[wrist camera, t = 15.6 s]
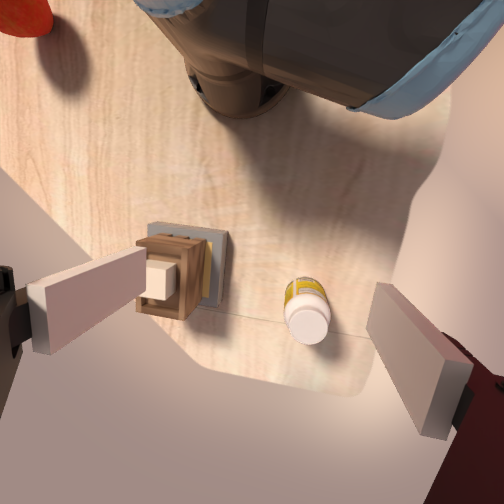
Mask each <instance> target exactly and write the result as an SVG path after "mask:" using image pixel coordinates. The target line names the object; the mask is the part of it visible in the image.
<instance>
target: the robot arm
mask: <svg viewBox="0 0 504 504" xmlns="http://www.w3.org/2000/svg"><path fill="white" fill-rule="evenodd" d="M133 1H134V2H135V4H136V5H137V6H139V7H140V9H141V10H143V11H145V13H146V14H147V15H148V16H149V17H150V18H151V19H152V21H153V22H154V23H155V24H156V25H157V26H158V28H159V29H160V30H161V31H162V32H163V33H164V35H165V36H166V37H167V38H168V39H169V40H170V42H171V43H172V44H173V45H174V46H175V47H176V49H177V50H178V51H179V52H180V53H181V54H182V56H183V57H184V62H185V67H186V71H187V74H188V77H189V79H190V82H191V84H192V86H193V87H194V89H195V91H196V92H197V94H198V95H199V96H200V97H201V98H202V100H203V101H204V102H206V103H207V104H208V105H209V106H210V107H211V108H212V109H213V110H215V111H216V112H218V113H220V114H222V115H224V116H227V117H231V118H239V119H243V118H251V117H255V116H258V115H260V114H262V113H264V112H266V111H268V110H269V109H271V108H272V107H273V106H275V105H276V104H277V103H278V102H279V101H280V100H281V99H282V97H283V96H284V95H285V93H286V92H287V90H288V89H289V87H290V86H292V87H294V88H297V89H300V90H302V91H305V92H308V93H311V94H313V95H316V96H319V97H321V98H324V99H327V100H329V101H332V102H335V103H338V104H340V105H343V106H346V109H347V110H349V111H351V112H360V111H361V112H364V113H367V114H370V115H373V116H377V117H380V118H383V119H389V120H395V119H399V118H402V117H405V116H409V115H411V114H413V113H415V112H417V111H419V110H420V109H422V108H423V107H425V106H426V105H427V104H429V103H430V102H431V101H433V100H434V99H435V98H436V97H437V96H438V95H440V94H441V93H442V92H443V91H444V90H445V89H446V88H447V87H448V86H449V85H451V84H452V83H453V82H454V80H456V78H458V77H459V75H460V74H461V73H462V72H463V71H464V70H465V69H466V68H467V67H468V66H469V65H470V64H471V63H472V62H473V61H474V59H475V58H476V57H477V56H478V55H479V54H480V53H481V51H482V50H483V49H484V48H485V47H486V46H487V44H488V43H489V42H490V41H491V39H492V38H493V37H494V36H495V35H496V33H497V32H498V30H499V29H500V28H501V27H502V26H503V24H504V0H133ZM146 249H147V248H146V247H139V246H133V247H130V248H127V249H124V250H121V251H118V252H116V253H113V254H110V255H107V256H104V257H101V258H98V259H96V260H93V261H90V262H87V263H84V264H81V265H79V266H76V267H73V268H70V269H67V270H65V271H62V272H59V273H56V274H53V275H50V276H47V277H45V278H42V279H39V280H36V281H33V282H30V283H28V284H26V287H24V288H21V289H19V290H16V291H15V285H14V277H13V269H12V268H11V267H9V266H0V418H1V415H2V412H3V409H4V406H5V403H6V401H7V398H8V394H9V392H10V388H11V386H12V383H13V379H14V377H15V374H16V371H17V368H18V365H19V362H20V359H21V356H22V353H23V350H22V342H24V341H26V340H28V339H30V338H32V347H33V352H37V353H42V354H47V355H52V354H54V353H55V352H57V351H58V350H60V349H61V348H63V347H64V346H65V345H67V344H68V343H70V342H71V341H73V340H74V339H76V338H77V337H79V336H80V335H82V334H83V333H85V332H86V331H88V330H89V329H90V328H92V327H93V326H95V325H96V324H98V323H99V322H101V321H102V320H104V319H105V318H107V317H108V316H110V315H111V314H113V313H114V312H115V311H117V310H118V309H120V308H121V307H123V306H124V305H126V304H127V303H129V302H130V301H132V300H133V299H135V298H136V297H138V296H139V295H141V294H142V293H143V292H145V291H146ZM366 330H367V332H368V334H369V336H370V338H371V340H372V341H373V343H374V345H375V347H376V349H377V351H378V353H379V355H380V357H381V359H382V361H383V363H384V365H385V367H386V369H387V371H388V373H389V375H390V377H391V379H392V381H393V383H394V385H395V387H396V389H397V391H398V392H399V394H400V396H401V398H402V400H403V402H404V404H405V406H406V408H407V410H408V412H409V414H410V416H411V418H412V420H413V422H414V424H415V426H416V428H417V430H418V432H419V434H420V435H422V436H427V437H431V438H436V439H441V440H445V441H446V440H447V437H448V434H449V432H450V429H451V426H452V425H453V426H454V427H455V429H456V431H457V434H456V436H455V438H454V440H453V442H452V444H451V446H450V448H449V450H448V453H447V455H446V457H445V459H444V461H443V463H442V465H441V467H440V470H439V472H438V474H437V476H436V478H435V480H434V482H433V484H432V487H431V489H430V491H429V493H428V495H427V497H426V499H425V501H424V503H423V504H504V377H503V376H499V375H494V374H492V373H491V372H490V371H489V370H488V369H487V368H486V367H485V366H484V365H483V364H481V363H480V362H479V361H478V360H477V359H476V358H475V357H473V355H472V354H471V353H470V352H469V351H467V350H466V349H465V348H464V347H463V346H462V345H461V344H460V343H459V342H458V341H457V340H455V339H454V338H452V337H450V336H448V335H447V334H445V333H444V332H440V331H439V330H438V329H437V328H436V327H435V326H434V325H433V324H432V323H431V322H430V321H429V320H428V319H427V318H426V317H425V316H424V315H423V314H422V313H421V312H420V311H419V310H418V309H417V308H416V307H415V306H414V305H413V304H412V303H411V302H410V301H409V300H408V299H406V297H404V295H402V294H401V293H400V292H399V291H398V290H397V289H396V288H395V287H394V286H393V285H392V284H387V283H380V282H377V284H376V288H375V292H374V296H373V300H372V305H371V309H370V313H369V317H368V321H367V326H366Z"/></svg>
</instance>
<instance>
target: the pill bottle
mask: <svg viewBox="0 0 504 504" xmlns="http://www.w3.org/2000/svg"><path fill="white" fill-rule="evenodd" d="M284 320H285V323H286V325H287V327H288V328H289V331H290V334H291V335H292V337H293V338H294V339H295V340H296V341H297V342H299V343H302V344H305V345H313V344H316V343H319V342H320V341H322V340H323V339H324V338H325V336H326V335H327V332H328V326H329V324H330V321H331V312H330V308H329V305H328V302H327V298H326V295H325V292H324V289H323V287H322V285H321V284H320V283H319V282H318V281H317V280H315V279H314V278H311V277H306V276H303V277H298V278H295V279H294V280H292V281H291V282H290V283H289V284H288V286H287V288H286V292H285V303H284Z"/></svg>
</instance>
